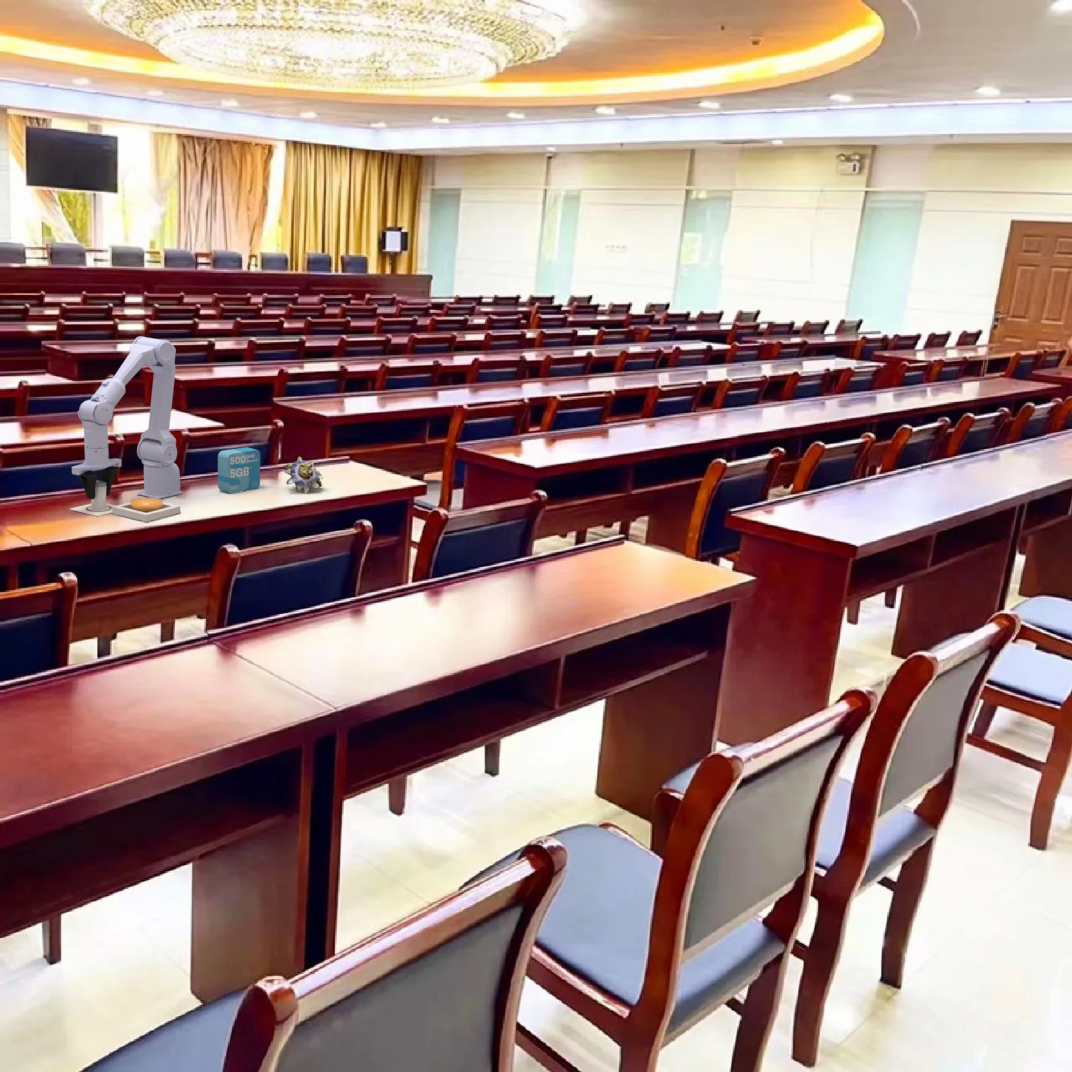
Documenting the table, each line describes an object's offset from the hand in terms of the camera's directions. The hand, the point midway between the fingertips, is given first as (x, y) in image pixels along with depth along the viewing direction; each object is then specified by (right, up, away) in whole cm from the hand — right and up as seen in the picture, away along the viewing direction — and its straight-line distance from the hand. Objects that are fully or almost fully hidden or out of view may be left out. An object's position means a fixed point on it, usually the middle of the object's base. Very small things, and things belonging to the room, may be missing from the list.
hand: (98, 496), depth 275 cm
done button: (+13, -3, 0) cm, 13 cm away
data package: (+28, +3, +32) cm, 43 cm away
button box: (+13, -4, +1) cm, 13 cm away
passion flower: (+46, +3, +38) cm, 60 cm away
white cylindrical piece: (0, -3, +1) cm, 3 cm away
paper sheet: (0, -3, +1) cm, 3 cm away
